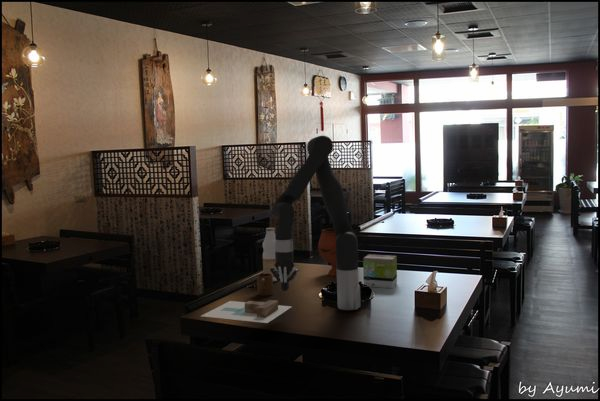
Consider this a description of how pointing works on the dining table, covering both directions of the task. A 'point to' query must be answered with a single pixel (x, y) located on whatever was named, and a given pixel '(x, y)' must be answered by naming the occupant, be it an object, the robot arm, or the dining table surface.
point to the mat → (242, 312)
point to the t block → (261, 307)
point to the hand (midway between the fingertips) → (285, 290)
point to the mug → (265, 284)
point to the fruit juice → (269, 252)
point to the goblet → (328, 248)
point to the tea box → (380, 271)
